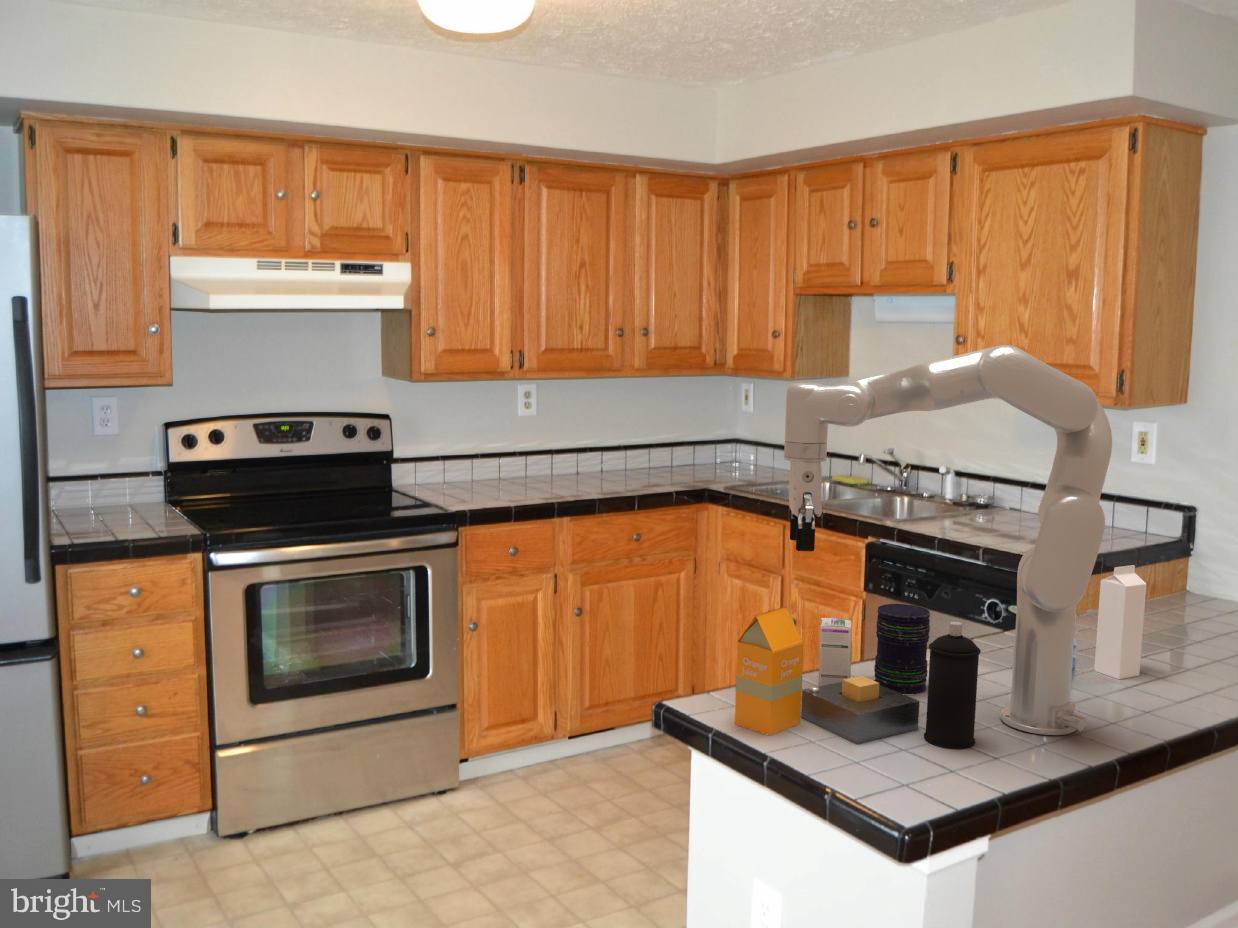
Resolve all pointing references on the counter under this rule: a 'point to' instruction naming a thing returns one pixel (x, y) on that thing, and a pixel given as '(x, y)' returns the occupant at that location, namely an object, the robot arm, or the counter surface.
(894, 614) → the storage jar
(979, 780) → the counter surface
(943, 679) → the aerosol can
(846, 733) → the breaker box
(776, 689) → the orange juice
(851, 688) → the button
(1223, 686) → the counter surface
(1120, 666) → the milk
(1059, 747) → the counter surface
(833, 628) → the syrup box
